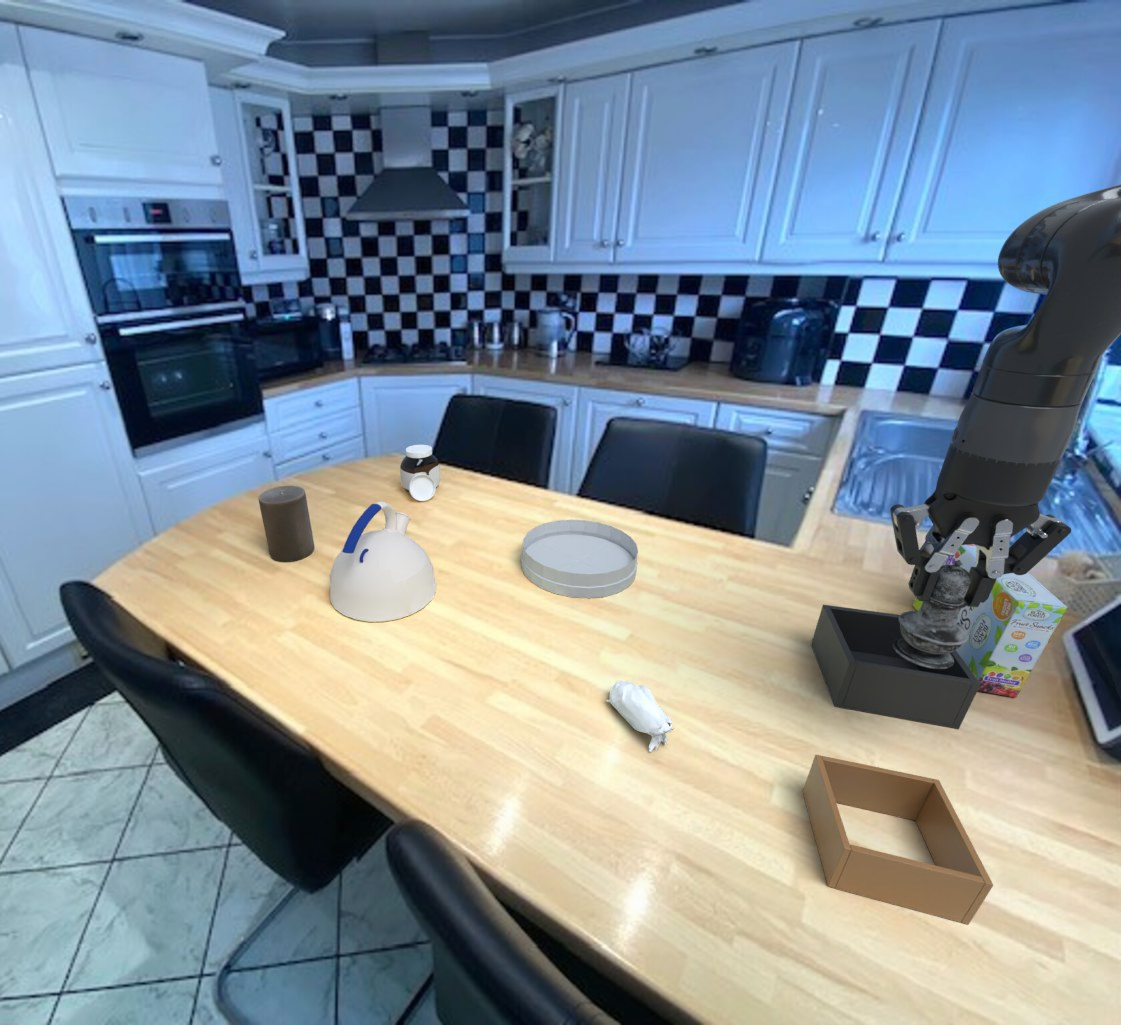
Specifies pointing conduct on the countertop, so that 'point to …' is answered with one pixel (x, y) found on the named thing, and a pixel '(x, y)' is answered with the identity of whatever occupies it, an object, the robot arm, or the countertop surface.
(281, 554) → the pillar candle
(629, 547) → the dish
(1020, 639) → the snack box
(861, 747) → the countertop surface
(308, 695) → the countertop surface
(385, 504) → the kettle
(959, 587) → the dark grey chess piece
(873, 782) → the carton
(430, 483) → the spread jar
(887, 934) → the countertop surface
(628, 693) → the white oblong lumpy piece
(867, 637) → the open box
